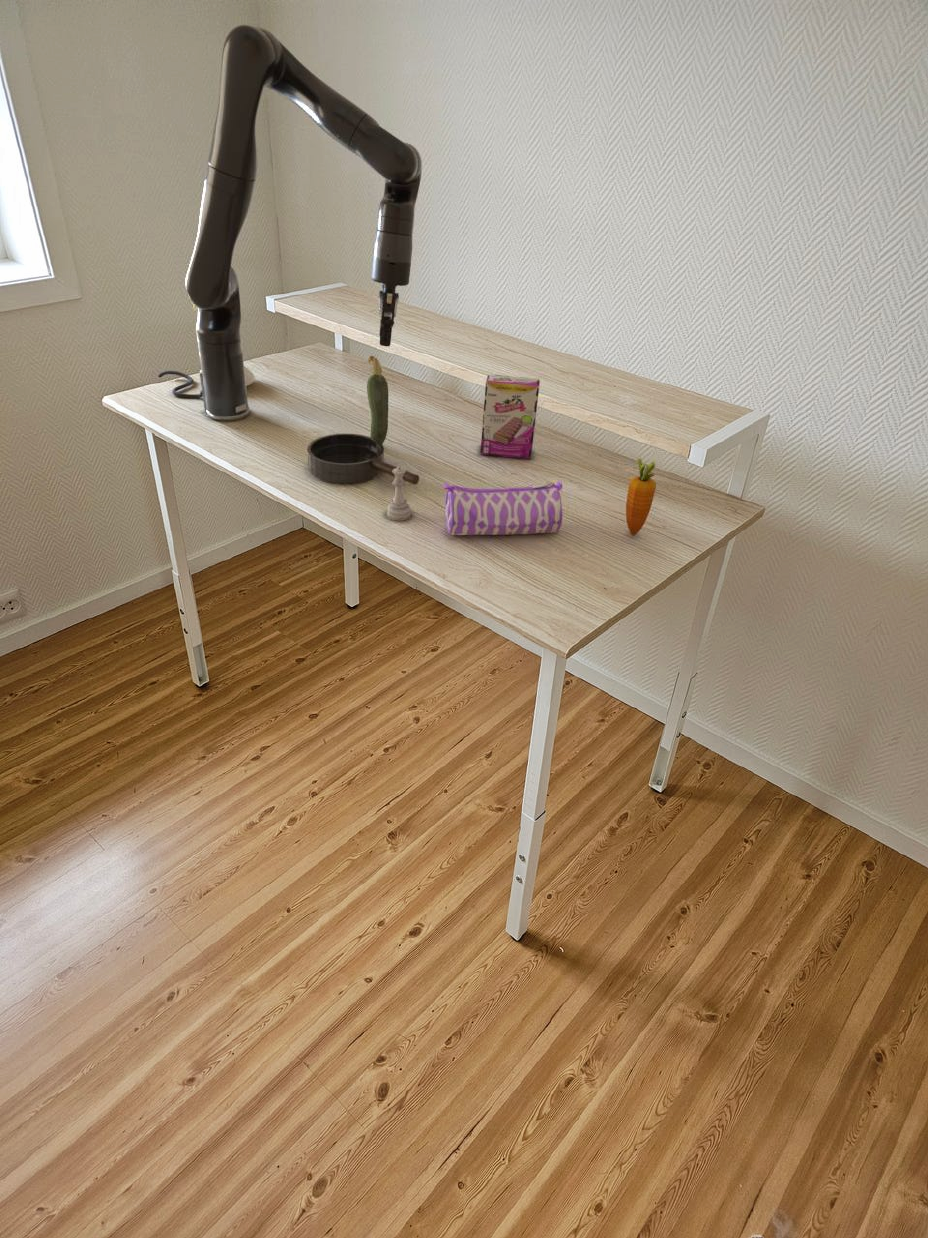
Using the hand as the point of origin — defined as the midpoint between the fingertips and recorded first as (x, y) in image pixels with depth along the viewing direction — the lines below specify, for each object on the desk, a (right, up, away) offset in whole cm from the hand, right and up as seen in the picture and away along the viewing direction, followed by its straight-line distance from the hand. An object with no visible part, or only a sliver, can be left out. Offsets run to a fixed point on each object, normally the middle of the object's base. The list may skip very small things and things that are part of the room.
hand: (384, 341), depth 171 cm
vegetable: (-2, -21, +7) cm, 22 cm away
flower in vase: (-42, 0, +34) cm, 54 cm away
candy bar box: (+26, -22, +8) cm, 35 cm away
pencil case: (+23, -42, -20) cm, 52 cm away
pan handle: (+3, -30, -9) cm, 31 cm away
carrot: (+48, -42, -19) cm, 66 cm away
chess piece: (+4, -38, -17) cm, 42 cm away
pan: (-8, -27, -2) cm, 28 cm away
